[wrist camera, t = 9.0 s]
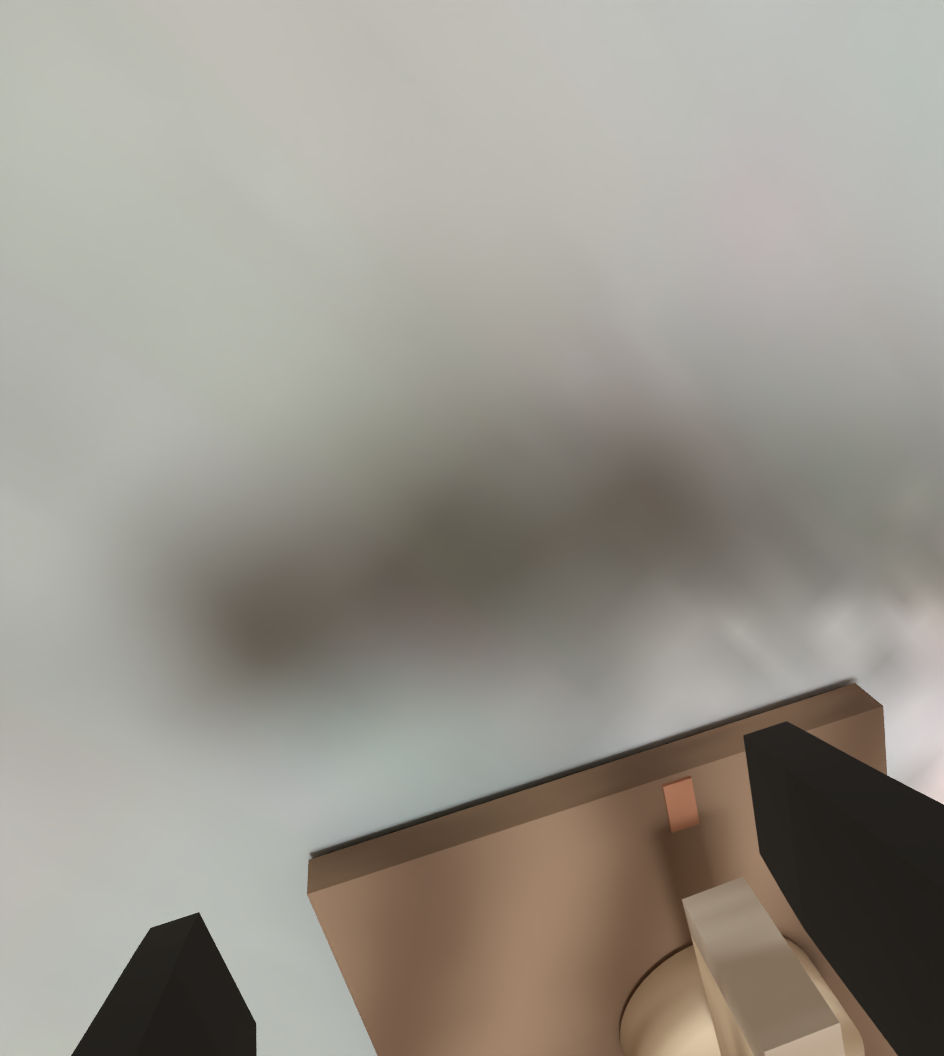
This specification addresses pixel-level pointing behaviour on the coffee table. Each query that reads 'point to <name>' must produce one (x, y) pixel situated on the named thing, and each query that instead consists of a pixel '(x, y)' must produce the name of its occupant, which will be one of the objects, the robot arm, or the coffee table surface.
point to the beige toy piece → (736, 990)
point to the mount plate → (564, 895)
